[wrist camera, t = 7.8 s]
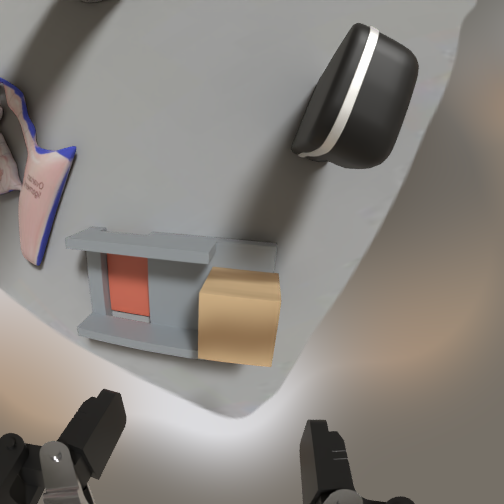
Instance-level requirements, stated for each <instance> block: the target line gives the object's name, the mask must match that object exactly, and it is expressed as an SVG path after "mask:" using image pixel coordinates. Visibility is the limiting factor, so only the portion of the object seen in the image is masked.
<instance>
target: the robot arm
mask: <svg viewBox="0 0 504 504" xmlns="http://www.w3.org/2000/svg"><path fill="white" fill-rule="evenodd" d="M81 1H84V2H97V1H102V0H81ZM125 424H126V414H125V410H124V405H123V402H122V397H121V394H120V393H117V392H114V391H110V390H107V389H103V390H102V391H101V392H100V394H99V395H98V397H97V398H95V397H91V398H89V399H88V400H86V401H85V402H83V404H82V405H81V407H80V408H79V410H78V412H76V414H75V415H74V418H72V420H71V421H70V422H69V424H68V425H67V427H66V428H65V430H64V431H63V433H62V434H61V436H60V437H59V439H58V440H57V441H51V442H48V443H45V444H44V445H43V446H38V445H32V444H26V443H24V441H23V439H22V438H21V437H20V436H19V435H17V434H14V433H8V434H5V435H3V436H2V437H1V438H0V504H37V503H38V501H39V499H40V497H41V495H42V493H43V491H44V489H45V488H46V493H44V494H43V501H44V504H95V501H94V498H93V495H92V492H91V489H90V487H89V484H88V481H89V479H90V477H93V478H96V479H98V480H99V478H100V476H101V474H102V472H103V470H104V468H105V466H106V464H107V462H108V460H109V458H110V456H111V454H112V452H113V450H114V448H115V446H116V444H117V442H118V440H119V438H120V436H121V433H122V431H123V430H124V427H125ZM347 458H348V457H347V453H346V449H345V444H344V440H343V439H342V437H341V436H340V435H339V433H338V432H336V431H332V432H329V431H328V426H327V422H326V420H308V421H307V423H306V426H305V430H304V433H303V436H302V439H301V443H300V464H301V479H302V494H303V504H414V502H413V501H411V500H410V499H409V498H406V497H395V498H392V499H390V500H389V501H388V502H379V501H372V500H367V499H365V498H363V497H361V496H360V495H359V494H358V493H357V492H356V491H355V489H354V486H353V481H352V476H351V471H350V467H349V462H348V460H347Z"/></svg>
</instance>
